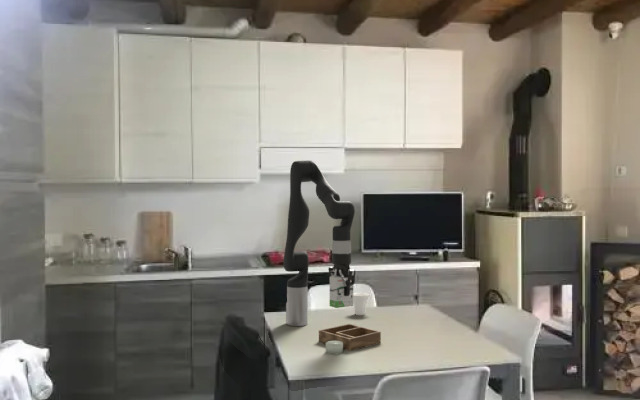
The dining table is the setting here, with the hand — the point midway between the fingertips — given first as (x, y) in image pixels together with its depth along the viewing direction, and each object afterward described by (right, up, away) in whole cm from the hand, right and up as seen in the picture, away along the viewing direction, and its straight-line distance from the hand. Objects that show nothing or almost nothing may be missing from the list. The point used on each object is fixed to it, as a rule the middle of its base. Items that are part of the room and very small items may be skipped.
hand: (341, 294), depth 226 cm
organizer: (+3, -20, +4) cm, 20 cm away
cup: (+11, -19, +55) cm, 59 cm away
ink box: (0, -5, 0) cm, 5 cm away
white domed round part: (-3, -20, -10) cm, 23 cm away
